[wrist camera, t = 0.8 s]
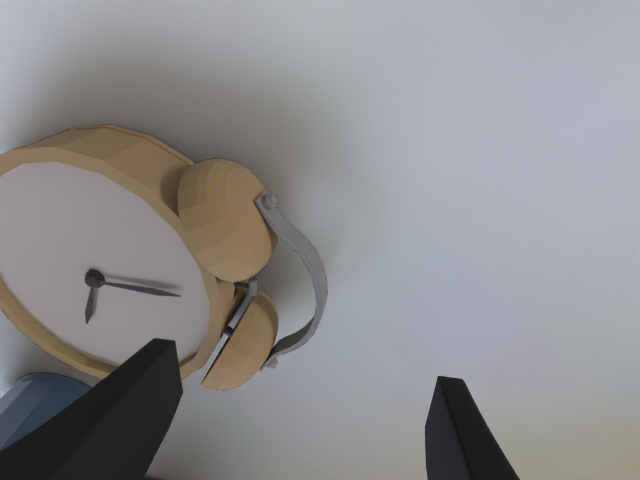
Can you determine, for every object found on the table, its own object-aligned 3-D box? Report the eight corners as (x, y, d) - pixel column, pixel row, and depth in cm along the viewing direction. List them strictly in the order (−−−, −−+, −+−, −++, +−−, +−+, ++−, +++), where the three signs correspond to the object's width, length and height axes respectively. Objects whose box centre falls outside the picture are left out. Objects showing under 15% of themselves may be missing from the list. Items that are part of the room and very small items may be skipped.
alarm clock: (-91, 129, 16) (305, 197, 12) (28, 102, 20) (349, 146, 16) (7, 359, 21) (297, 454, 17) (84, 301, 25) (332, 367, 22)
